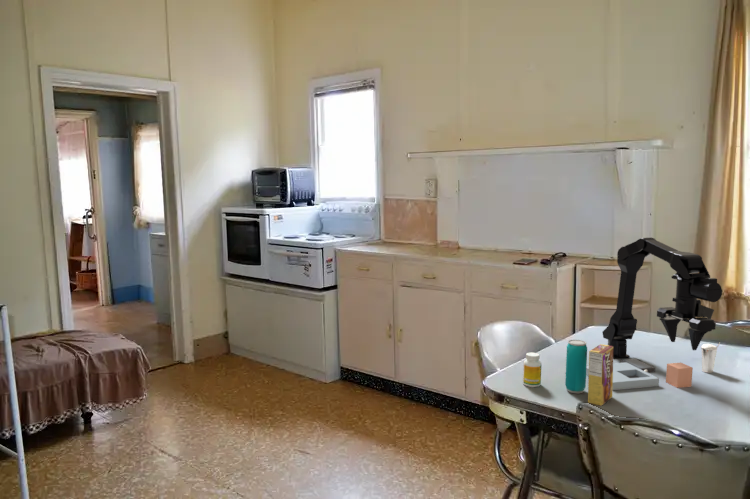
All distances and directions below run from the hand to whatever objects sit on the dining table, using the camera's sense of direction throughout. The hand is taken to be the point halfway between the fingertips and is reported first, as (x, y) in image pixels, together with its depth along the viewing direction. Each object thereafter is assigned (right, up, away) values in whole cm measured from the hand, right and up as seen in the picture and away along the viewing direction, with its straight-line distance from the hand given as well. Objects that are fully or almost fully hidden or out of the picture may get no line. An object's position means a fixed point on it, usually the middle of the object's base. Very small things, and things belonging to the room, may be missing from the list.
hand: (683, 345), depth 185 cm
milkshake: (+15, -11, +13) cm, 23 cm away
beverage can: (-34, -13, -4) cm, 37 cm away
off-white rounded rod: (-8, -11, +10) cm, 17 cm away
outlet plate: (-17, -11, +6) cm, 21 cm away
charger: (-1, -12, +2) cm, 12 cm away
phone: (-7, -10, +17) cm, 21 cm away
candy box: (-30, -14, -11) cm, 35 cm away
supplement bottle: (-46, -12, +2) cm, 48 cm away
